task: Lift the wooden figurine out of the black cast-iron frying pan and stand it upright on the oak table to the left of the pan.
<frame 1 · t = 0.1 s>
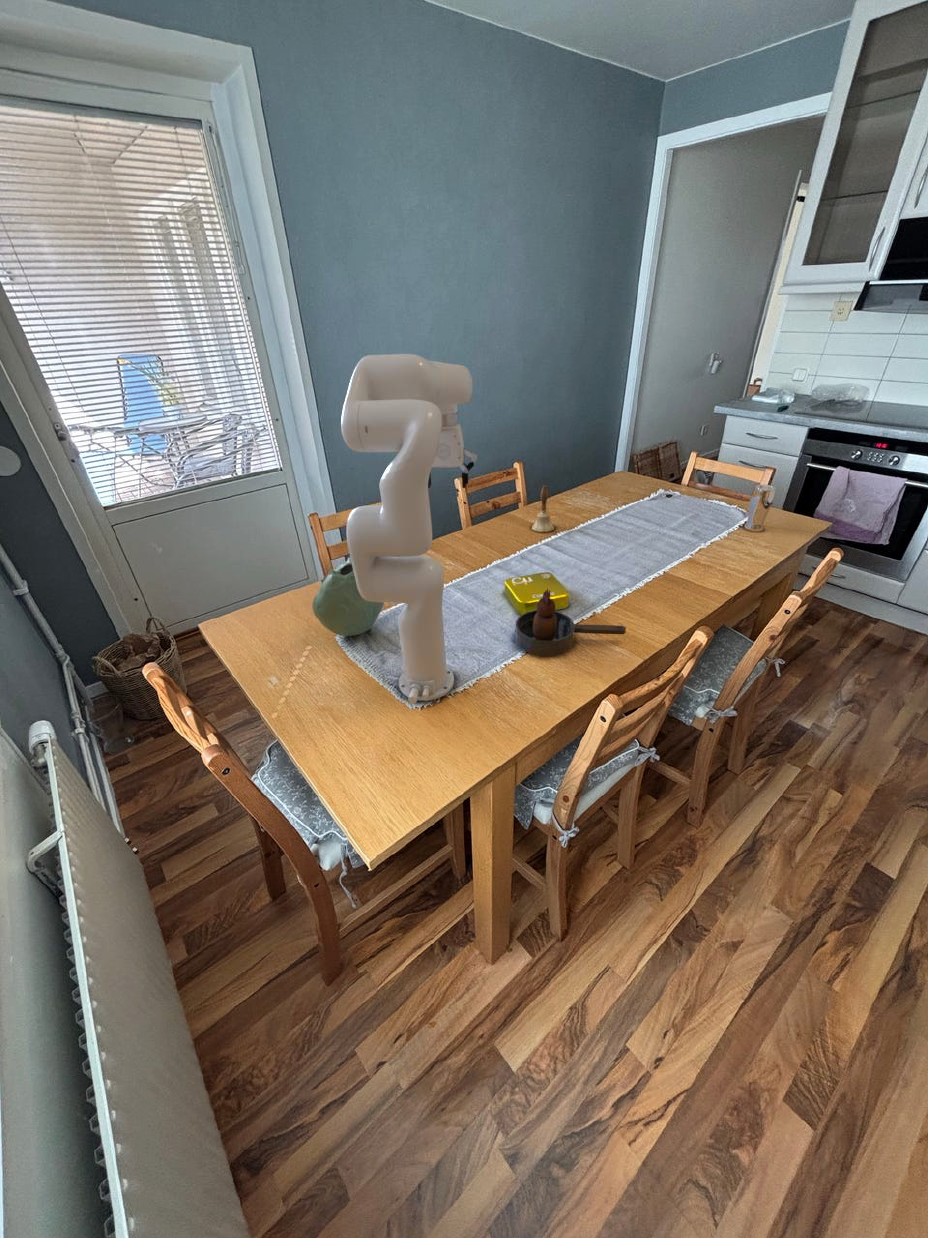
hand: (446, 486, 136), 31 cm above the table, tool pointing down, fingers open, 9 cm apart
pan: (544, 639, 128), on the table
beer glass: (753, 528, 181), on the table
hand bell: (542, 528, 189), on the table
pan handle: (599, 629, 125), point 3 cm above the table
wooden figurine: (544, 639, 128), resting on pan
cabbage: (355, 631, 135), on the table
element tile: (535, 600, 145), on the table
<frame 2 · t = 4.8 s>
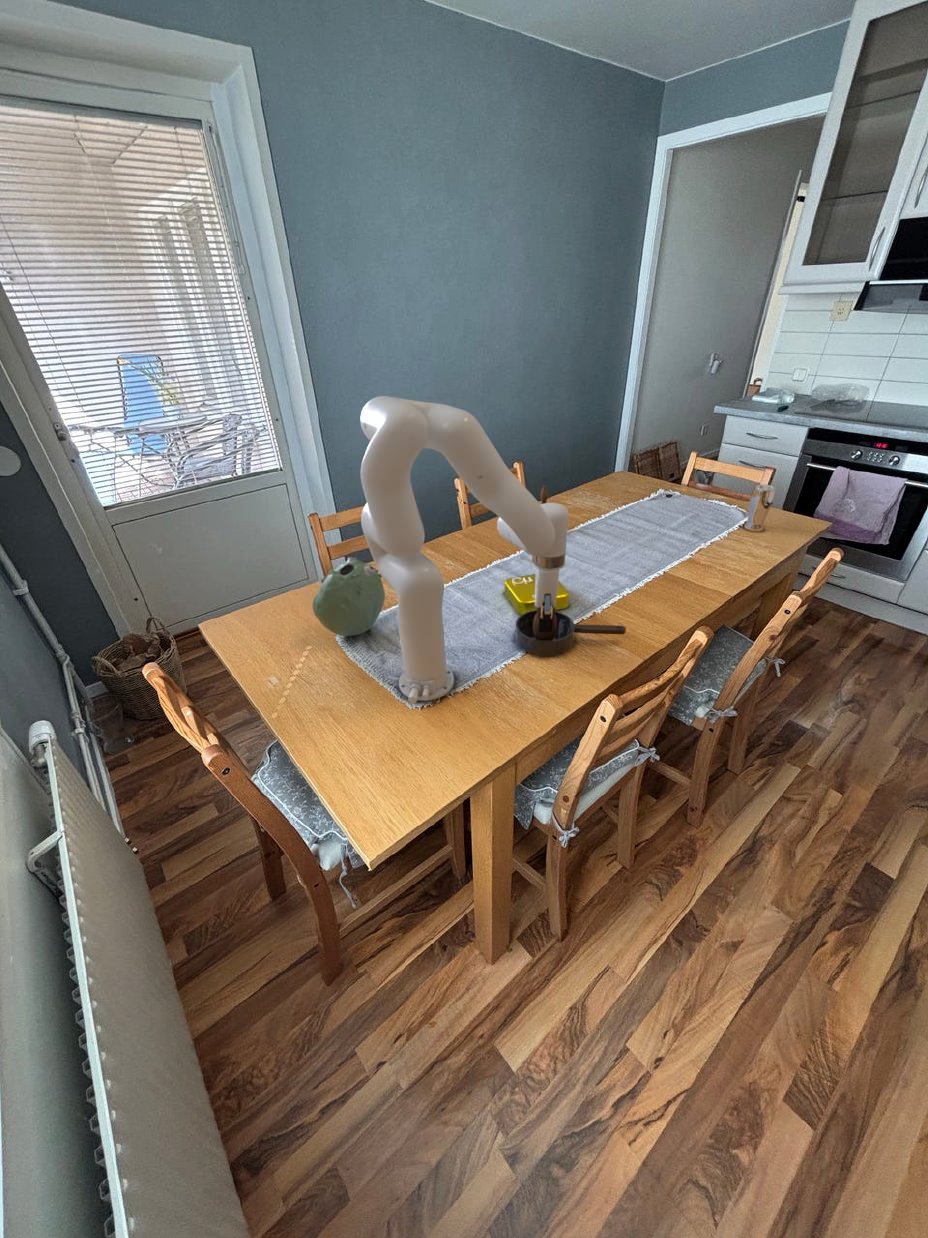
hand: (545, 622, 125), 5 cm above the table, tool pointing down, fingers closed on wooden figurine, 6 cm apart
wooden figurine: (544, 639, 128), resting on pan, touching gripper
everything else where it was.
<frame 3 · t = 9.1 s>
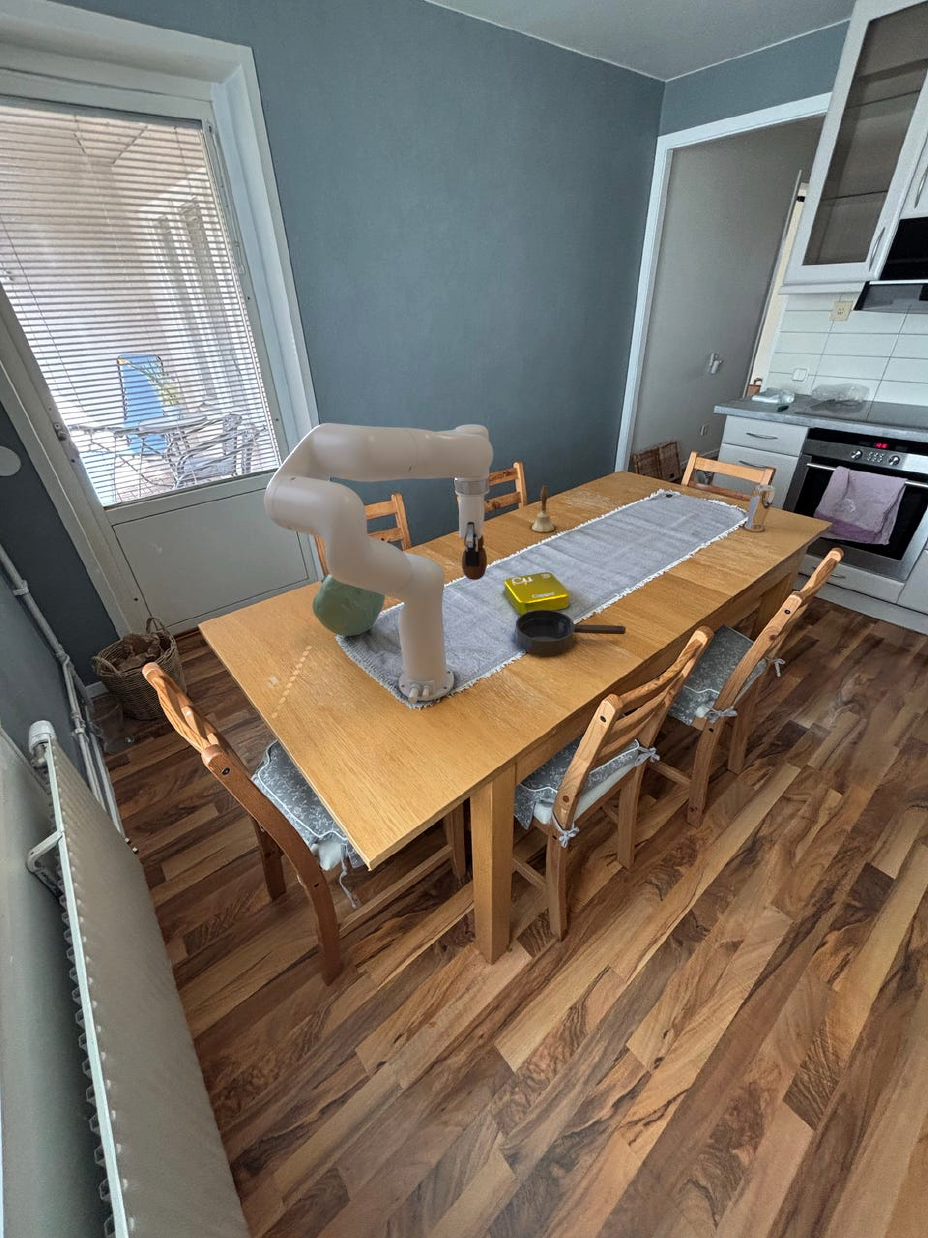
hand: (474, 558, 120), 22 cm above the table, tool pointing down, fingers closed on wooden figurine, 6 cm apart
wooden figurine: (474, 577, 123), point 17 cm above the table, touching gripper
everything else where it was.
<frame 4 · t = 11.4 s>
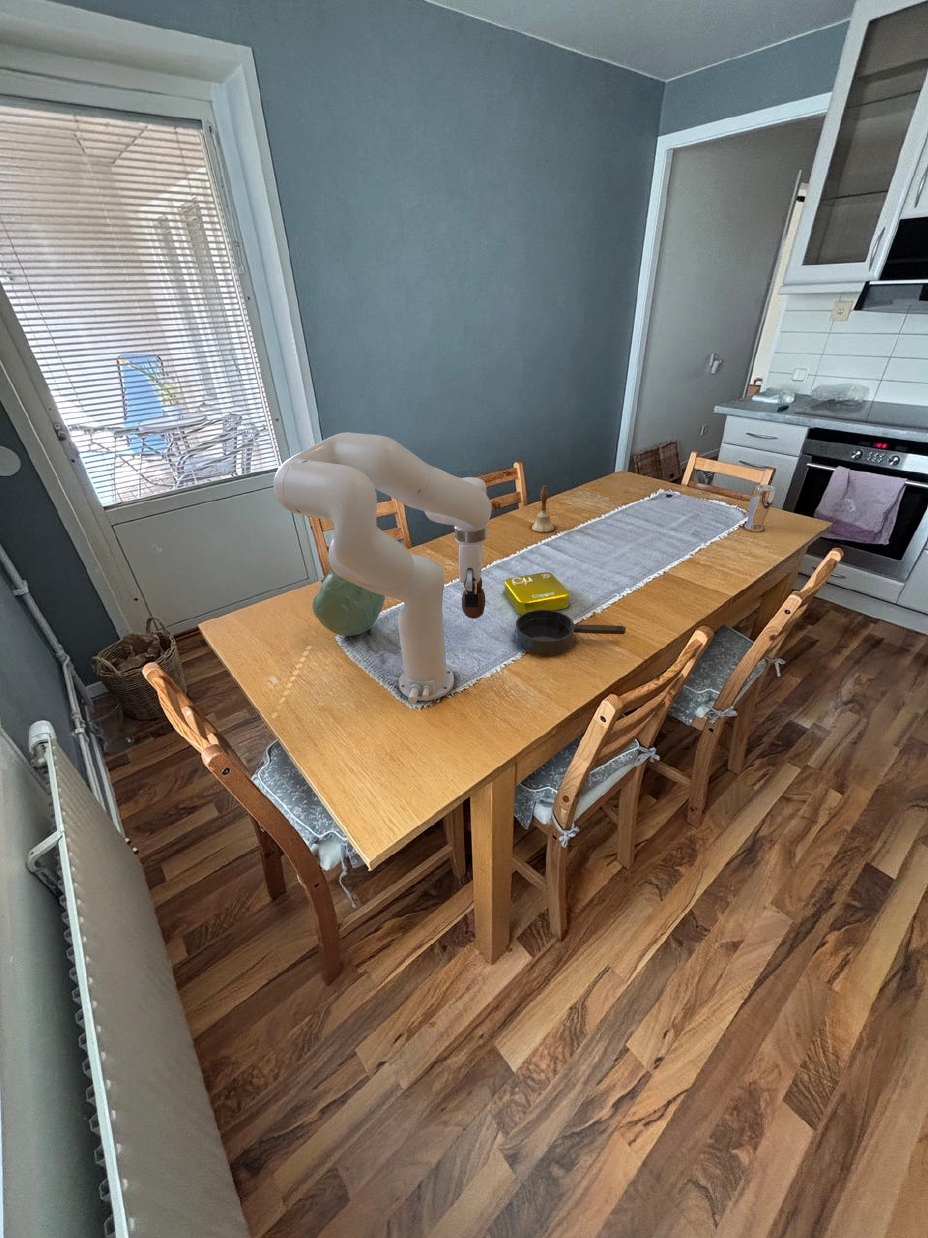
hand: (473, 598, 126), 10 cm above the table, tool pointing down, fingers closed on wooden figurine, 6 cm apart
wooden figurine: (474, 615, 129), point 5 cm above the table, touching gripper
everything else where it was.
when the fingers open (5 cm above the table, at t = 13.3 s): wooden figurine stays where it is, on the table.
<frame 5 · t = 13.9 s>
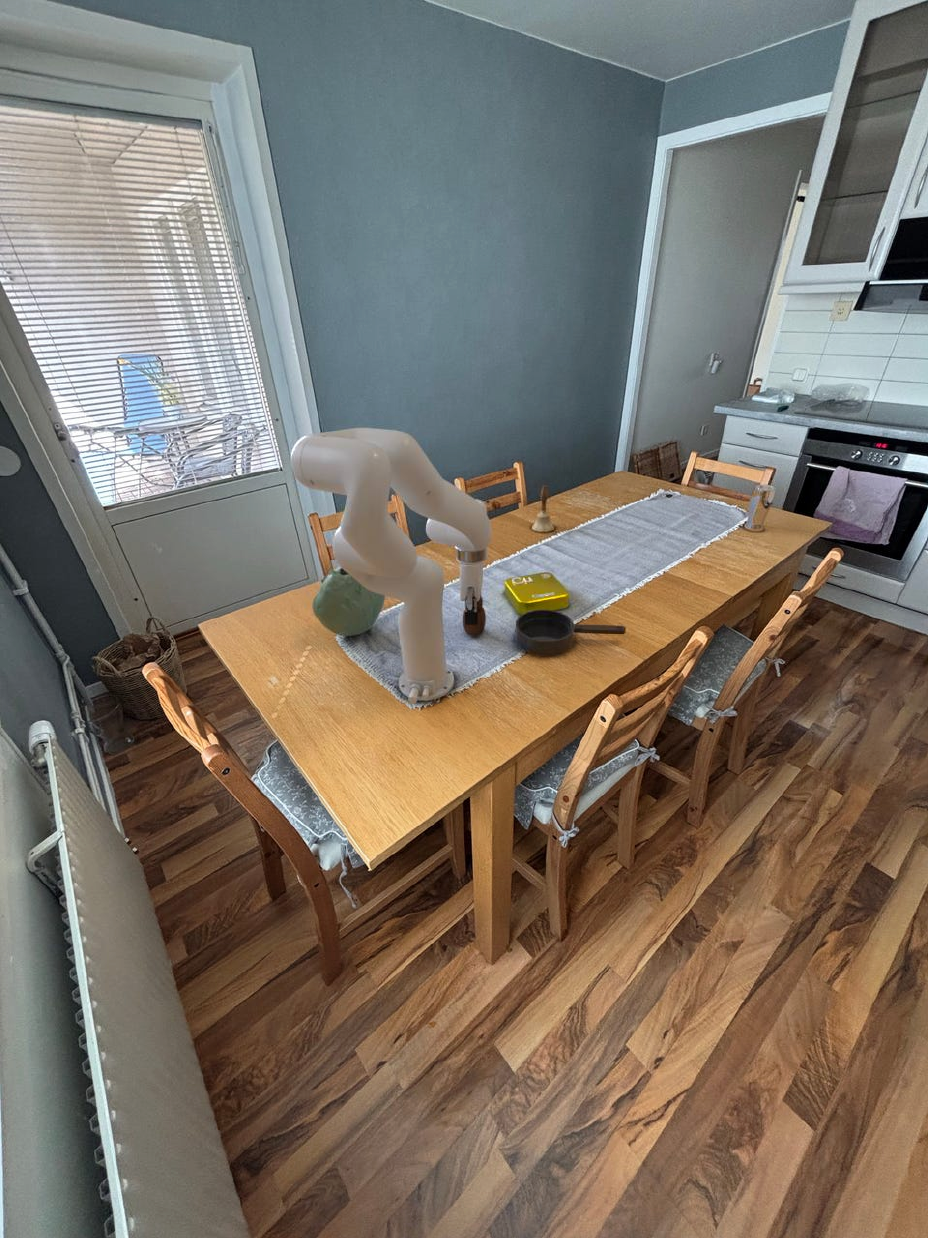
hand: (473, 613, 128), 6 cm above the table, tool pointing down, fingers open, 9 cm apart
wooden figurine: (474, 633, 132), on the table
everything else where it was.
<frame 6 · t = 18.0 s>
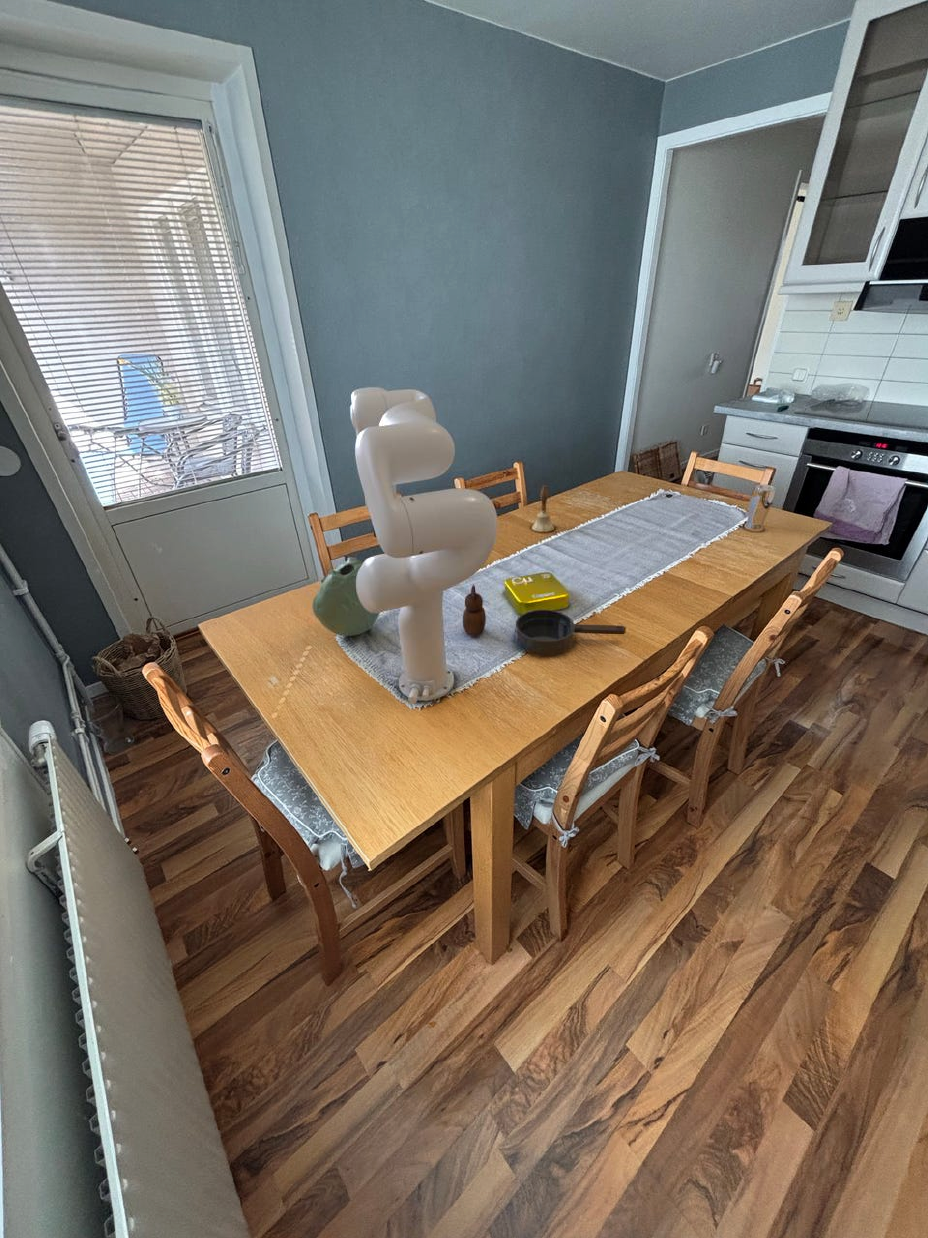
hand: (387, 528, 115), 30 cm above the table, tool pointing down, fingers open, 9 cm apart
nothing on the table moved.
at the end: wooden figurine inside the target area (0.1 cm from its centre), on the table; wooden figurine tilted 0°; the gripper is holding nothing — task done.
